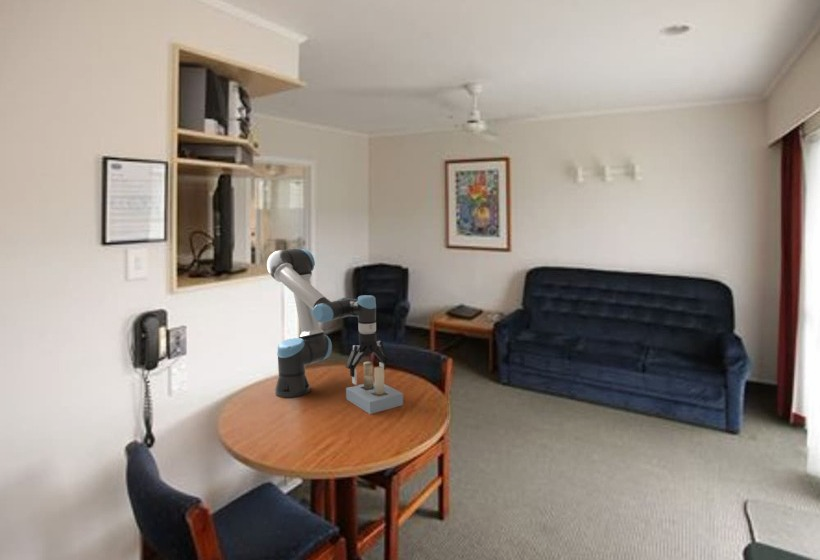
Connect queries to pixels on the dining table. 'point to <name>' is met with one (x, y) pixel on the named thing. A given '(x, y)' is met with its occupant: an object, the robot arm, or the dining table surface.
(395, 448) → the dining table surface
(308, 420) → the dining table surface
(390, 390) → the seat board
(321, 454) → the dining table surface
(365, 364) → the beech leg
